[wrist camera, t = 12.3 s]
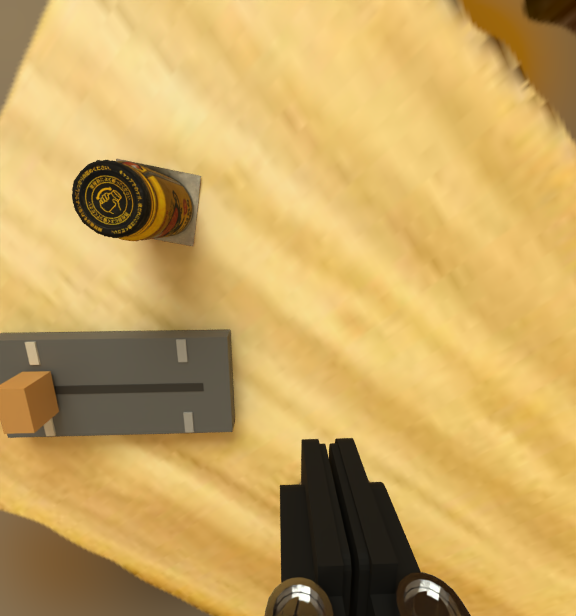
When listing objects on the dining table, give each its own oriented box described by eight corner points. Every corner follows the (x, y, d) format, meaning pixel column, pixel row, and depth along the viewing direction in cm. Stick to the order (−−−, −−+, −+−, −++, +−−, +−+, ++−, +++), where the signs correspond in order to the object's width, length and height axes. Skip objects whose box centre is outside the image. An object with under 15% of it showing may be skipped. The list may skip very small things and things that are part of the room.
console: (230, 329, 37) (226, 337, 35) (234, 419, 40) (232, 432, 38) (1, 332, 36) (-20, 341, 34) (24, 424, 40) (6, 438, 37)
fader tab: (50, 371, 35) (23, 388, 31) (59, 411, 36) (34, 432, 32) (22, 371, 35) (-8, 389, 31) (31, 412, 36) (4, 433, 32)
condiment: (193, 246, 35) (152, 257, 23) (114, 231, 34) (31, 235, 23) (201, 176, 33) (161, 150, 21) (117, 159, 32) (29, 123, 21)
